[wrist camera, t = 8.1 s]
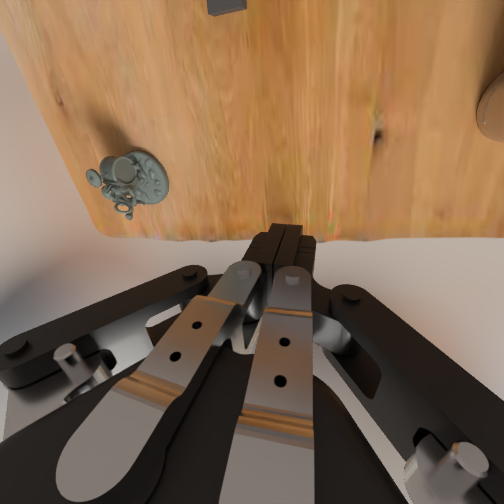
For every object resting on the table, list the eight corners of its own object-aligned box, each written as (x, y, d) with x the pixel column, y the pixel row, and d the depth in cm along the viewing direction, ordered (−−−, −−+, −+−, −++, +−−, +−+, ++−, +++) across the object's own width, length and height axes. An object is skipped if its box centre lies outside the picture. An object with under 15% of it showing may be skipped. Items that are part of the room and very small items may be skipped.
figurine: (132, 201, 55) (89, 225, 46) (115, 149, 50) (62, 164, 40) (174, 203, 53) (138, 229, 43) (161, 149, 47) (117, 165, 37)
